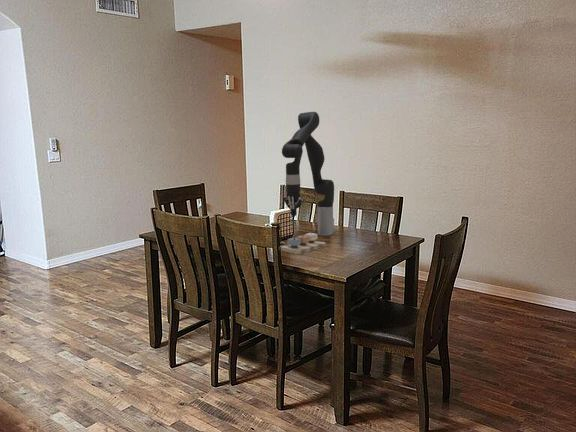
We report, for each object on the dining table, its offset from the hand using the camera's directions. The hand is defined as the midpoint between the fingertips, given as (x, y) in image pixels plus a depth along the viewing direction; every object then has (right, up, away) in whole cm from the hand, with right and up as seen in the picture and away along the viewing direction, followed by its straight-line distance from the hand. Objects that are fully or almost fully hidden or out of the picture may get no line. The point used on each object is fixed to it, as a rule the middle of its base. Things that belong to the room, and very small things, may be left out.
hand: (293, 215), depth 262 cm
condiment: (-9, -16, +20) cm, 27 cm away
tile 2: (+5, -14, +8) cm, 17 cm away
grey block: (0, -15, +3) cm, 15 cm away
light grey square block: (+10, -13, +13) cm, 21 cm away
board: (+5, -18, +9) cm, 20 cm away
